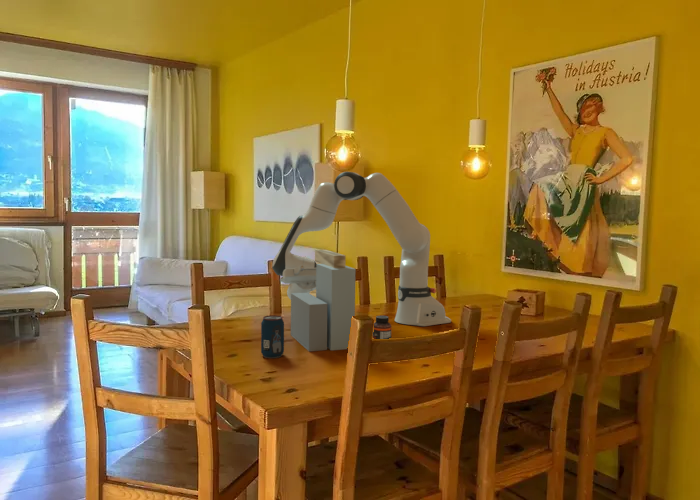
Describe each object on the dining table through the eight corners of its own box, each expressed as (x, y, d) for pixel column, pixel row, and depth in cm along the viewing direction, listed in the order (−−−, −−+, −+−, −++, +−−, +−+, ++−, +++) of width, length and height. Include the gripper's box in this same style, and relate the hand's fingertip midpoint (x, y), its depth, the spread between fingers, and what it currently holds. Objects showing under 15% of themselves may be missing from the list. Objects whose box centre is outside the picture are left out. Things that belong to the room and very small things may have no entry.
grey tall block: (337, 336, 195) (338, 263, 193) (354, 348, 180) (355, 268, 178) (315, 338, 192) (316, 263, 190) (330, 350, 178) (332, 269, 175)
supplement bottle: (369, 349, 179) (369, 315, 178) (385, 348, 181) (386, 314, 180) (377, 354, 174) (377, 319, 172) (394, 353, 176) (394, 317, 175)
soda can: (269, 351, 175) (269, 314, 174) (288, 354, 172) (288, 316, 171) (256, 356, 169) (256, 318, 168) (275, 360, 166) (275, 320, 165)
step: (307, 333, 199) (307, 292, 197) (326, 349, 178) (327, 303, 177) (290, 335, 196) (291, 293, 195) (309, 351, 176) (309, 304, 175)
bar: (325, 260, 200) (325, 249, 199) (345, 267, 181) (345, 255, 181) (314, 261, 198) (315, 250, 198) (333, 268, 180) (333, 255, 179)
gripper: (277, 274, 216) (285, 259, 204) (327, 272, 223) (337, 258, 211) (279, 289, 213) (287, 275, 201) (330, 286, 220) (340, 273, 209)
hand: (313, 266), depth 206 cm, fingers open, 8 cm apart
